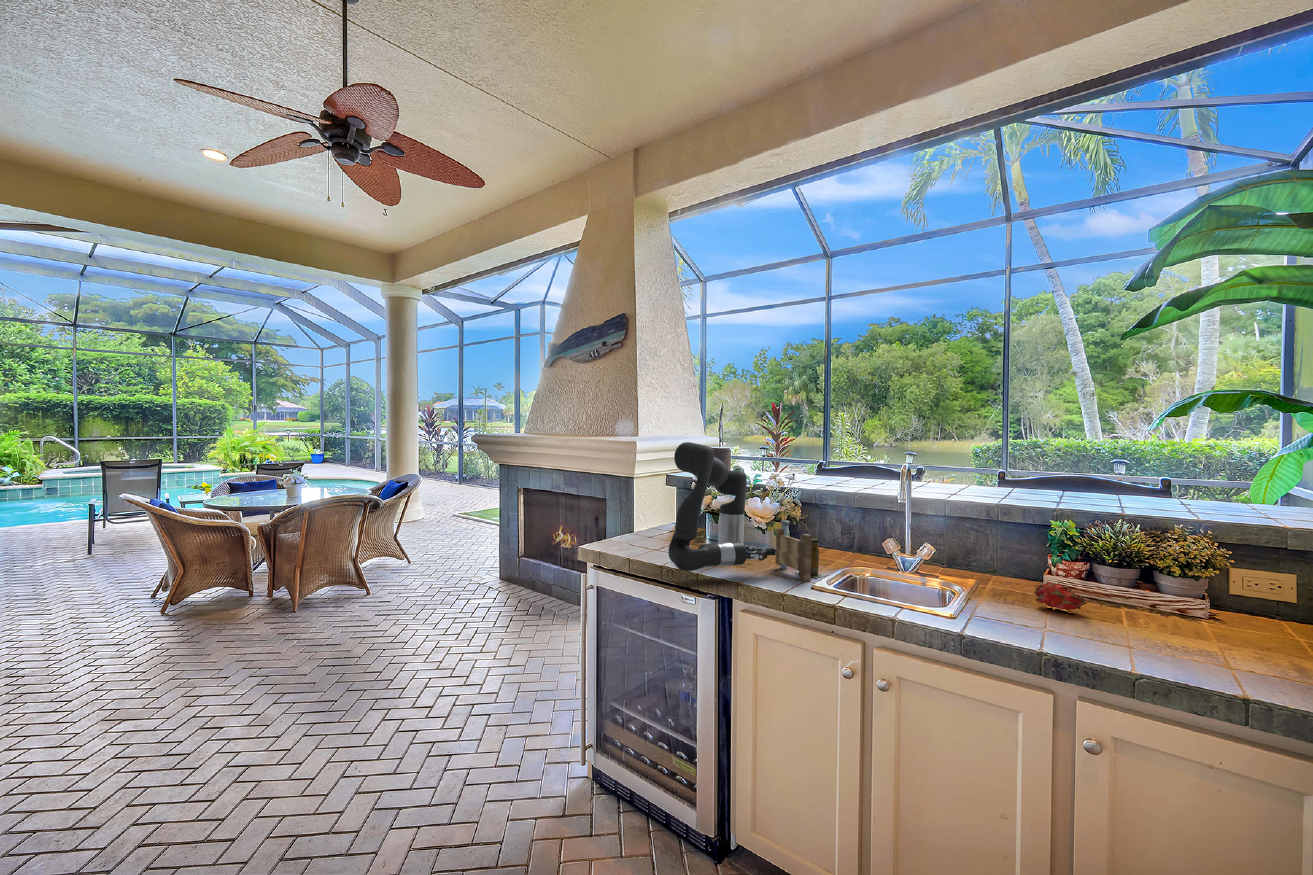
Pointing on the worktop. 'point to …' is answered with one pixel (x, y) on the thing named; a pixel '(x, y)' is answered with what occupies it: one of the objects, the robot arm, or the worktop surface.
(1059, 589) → the dragon fruit
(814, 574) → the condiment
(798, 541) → the gate
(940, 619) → the worktop surface
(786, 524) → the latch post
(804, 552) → the hinge post
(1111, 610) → the worktop surface
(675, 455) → the robot arm
